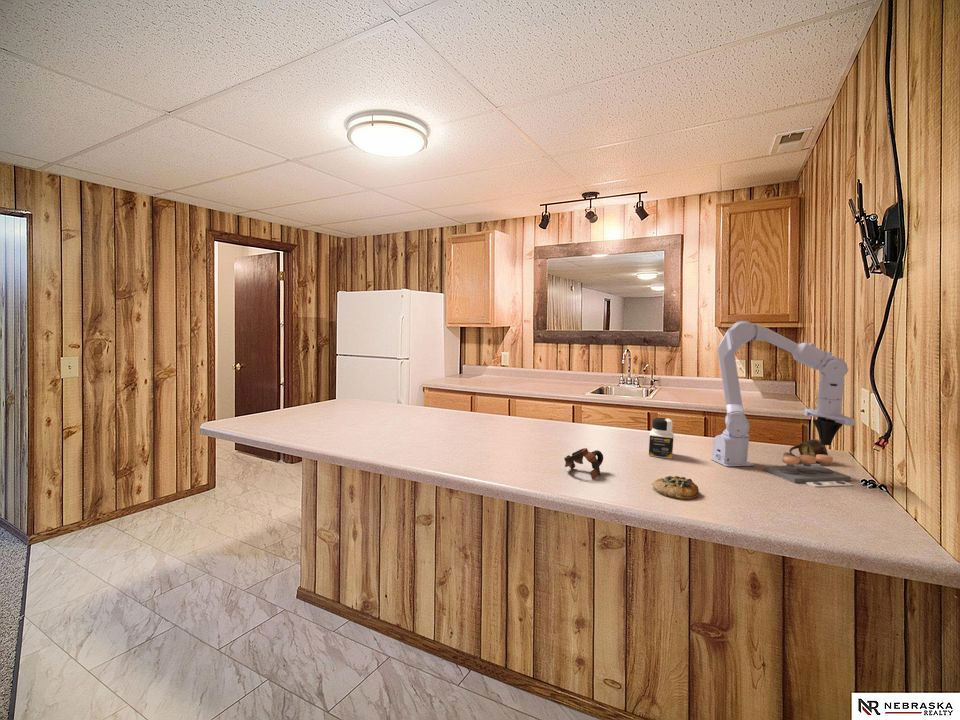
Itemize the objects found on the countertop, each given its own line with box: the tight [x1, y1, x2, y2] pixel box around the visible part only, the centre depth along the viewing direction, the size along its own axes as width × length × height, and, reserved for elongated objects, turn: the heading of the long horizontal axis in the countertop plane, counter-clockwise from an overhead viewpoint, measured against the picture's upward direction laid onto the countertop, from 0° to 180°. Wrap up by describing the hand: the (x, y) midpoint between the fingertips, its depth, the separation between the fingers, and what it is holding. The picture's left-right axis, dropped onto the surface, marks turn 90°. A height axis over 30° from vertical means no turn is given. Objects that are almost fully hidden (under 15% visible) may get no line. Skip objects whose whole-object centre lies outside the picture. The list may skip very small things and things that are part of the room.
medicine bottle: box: [648, 417, 675, 460], centre depth 155 cm, size 7×7×12 cm
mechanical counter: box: [782, 438, 829, 458], centre depth 153 cm, size 7×13×10 cm
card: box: [805, 481, 854, 488], centre depth 131 cm, size 12×3×1 cm, turn 99°
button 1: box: [782, 455, 800, 467], centre depth 137 cm, size 4×4×3 cm
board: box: [764, 464, 852, 484], centre depth 138 cm, size 18×11×2 cm, turn 99°
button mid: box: [798, 454, 817, 467], centre depth 138 cm, size 4×4×3 cm
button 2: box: [816, 454, 834, 467], centre depth 139 cm, size 4×4×3 cm
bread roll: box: [651, 475, 700, 500], centre depth 122 cm, size 11×11×5 cm
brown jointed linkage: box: [563, 447, 604, 480], centre depth 135 cm, size 12×10×8 cm
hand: (825, 444), depth 138 cm, fingers closed
